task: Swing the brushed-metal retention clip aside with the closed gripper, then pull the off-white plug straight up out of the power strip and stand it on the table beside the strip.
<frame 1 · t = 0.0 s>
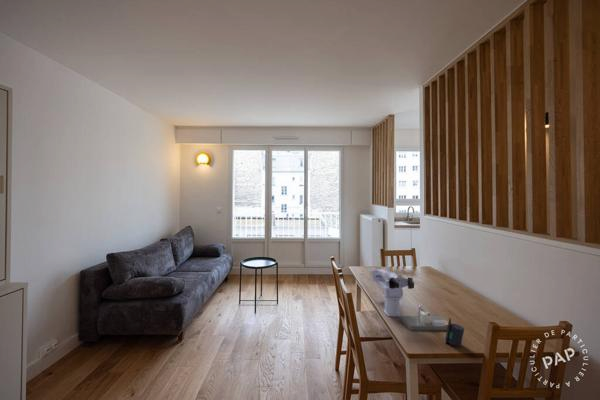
hand: (405, 285, 152), 22 cm above the table, tool horizontal, fingers open, 7 cm apart
retention clip: (424, 314, 157), point 5 cm above the table, hinge at 0.0°
power strip: (426, 324, 157), on the table
speaker: (454, 343, 137), on the table
plug: (425, 325, 156), resting in power strip
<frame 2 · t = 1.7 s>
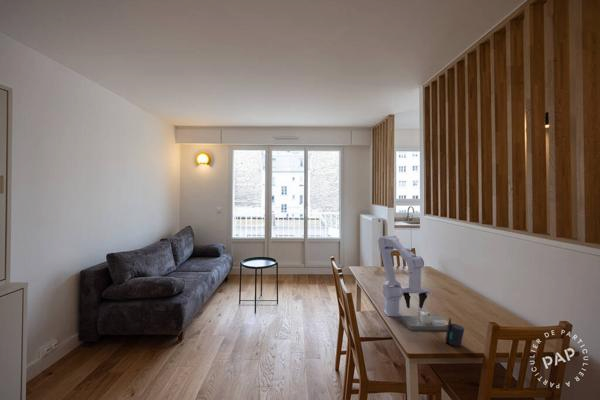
hand: (414, 307, 153), 10 cm above the table, tool pointing down, fingers open, 6 cm apart
nothing on the table moved.
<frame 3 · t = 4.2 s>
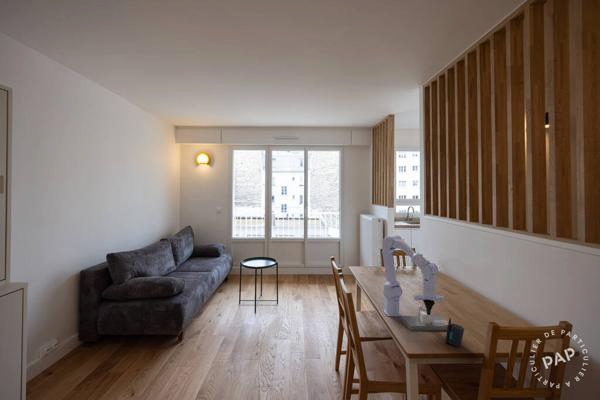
hand: (428, 314, 153), 7 cm above the table, tool pointing down, fingers closed, pressing on retention clip
retention clip: (425, 314, 157), point 5 cm above the table, hinge at 6.0°, touching gripper
everything else where it was.
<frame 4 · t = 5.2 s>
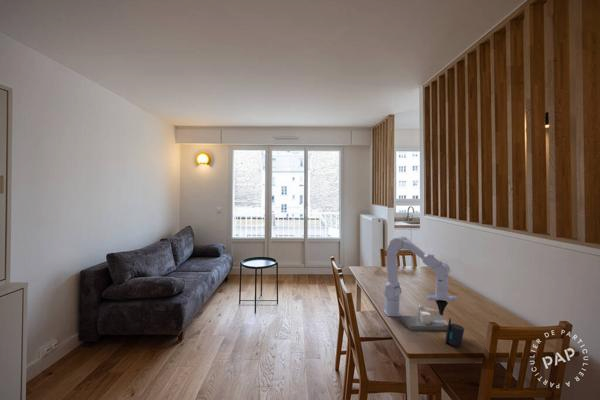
hand: (441, 314, 153), 7 cm above the table, tool pointing down, fingers closed, pressing on retention clip
retention clip: (429, 313, 159), point 5 cm above the table, hinge at 45.9°, touching gripper
everything else where it was.
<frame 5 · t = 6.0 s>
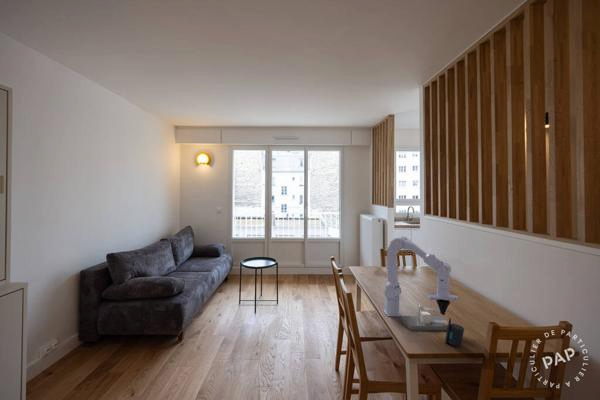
hand: (442, 314, 154), 7 cm above the table, tool pointing down, fingers closed, pressing on retention clip
retention clip: (429, 313, 159), point 5 cm above the table, hinge at 51.3°, touching gripper
everything else where it was.
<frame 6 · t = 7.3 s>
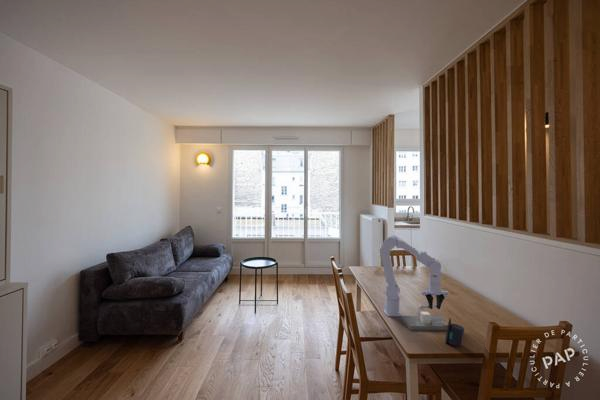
hand: (434, 308, 161), 7 cm above the table, tool pointing down, fingers open, 3 cm apart
retention clip: (428, 310, 163), point 5 cm above the table, hinge at 93.9°, touching gripper
everything else where it was.
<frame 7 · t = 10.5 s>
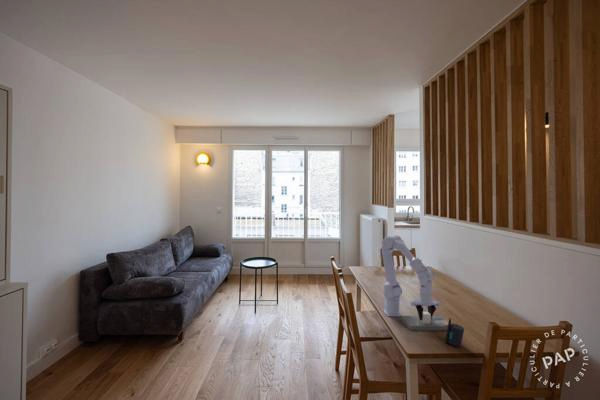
hand: (425, 319, 156), 3 cm above the table, tool pointing down, fingers closed on plug, 4 cm apart
retention clip: (427, 310, 163), point 5 cm above the table, hinge at 104.9°
plug: (425, 325, 156), resting in power strip, touching gripper
everything else where it was.
when the fingers open (4 cm above the table, at t = 14.2 s): plug drops 2 cm, on the table.
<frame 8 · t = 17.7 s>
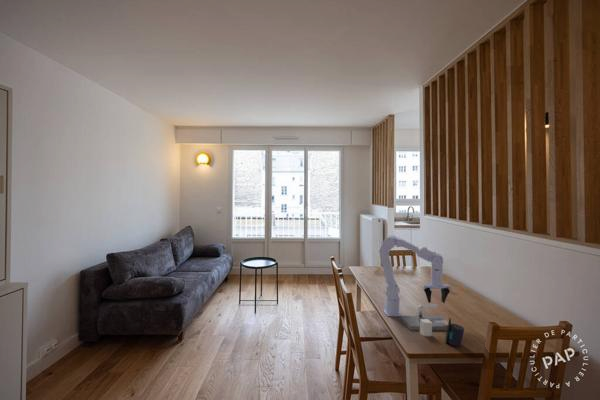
hand: (436, 302, 161), 10 cm above the table, tool pointing down, fingers open, 7 cm apart
plug: (425, 334, 146), on the table
everything else where it was.
at the end: retention clip at +105° (first picture: +0°); plug inside the target area (0.1 cm from its centre), on the table; plug tilted 0° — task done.
